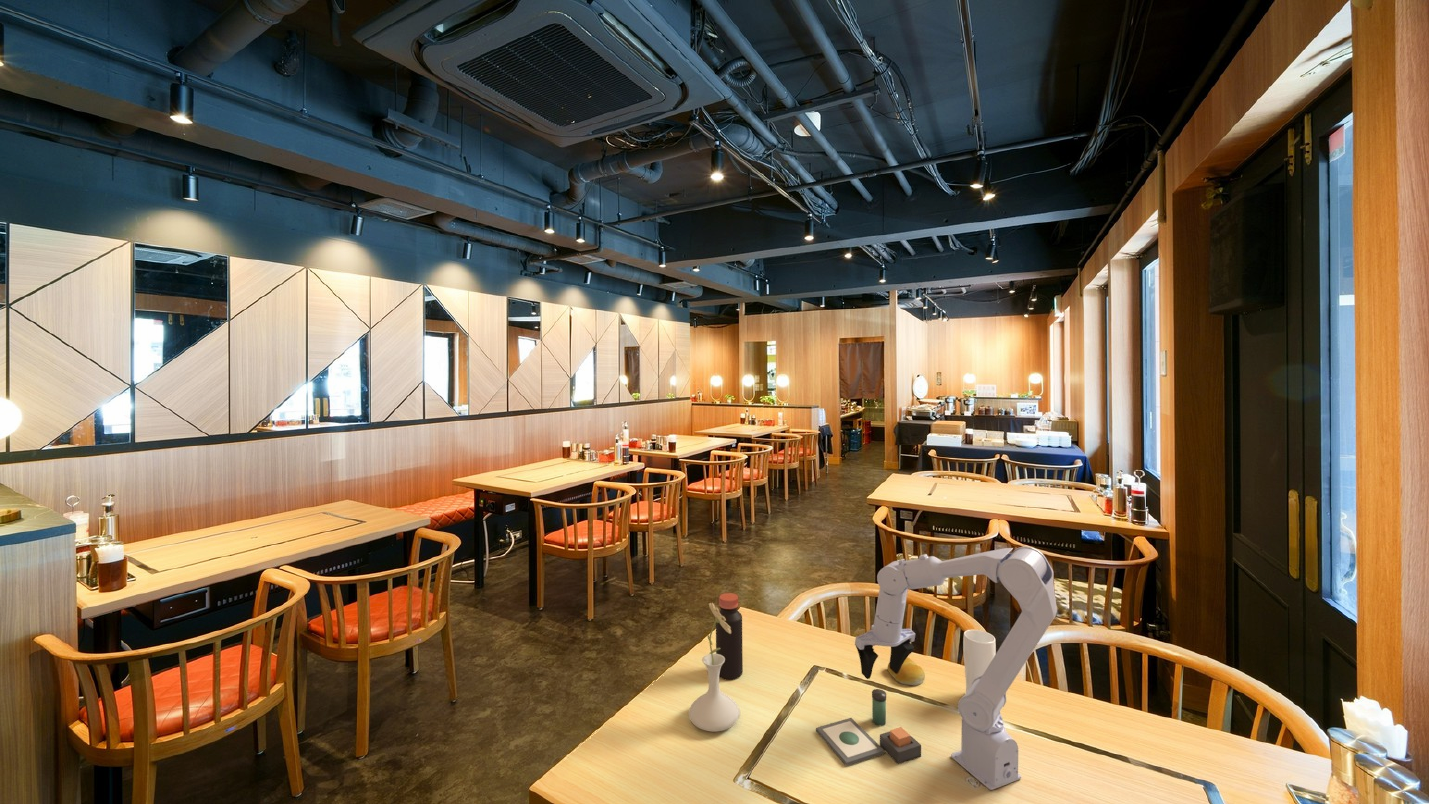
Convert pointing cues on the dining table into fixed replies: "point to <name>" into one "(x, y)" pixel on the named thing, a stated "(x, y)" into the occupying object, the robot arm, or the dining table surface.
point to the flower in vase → (714, 692)
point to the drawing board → (849, 741)
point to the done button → (900, 737)
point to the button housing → (900, 749)
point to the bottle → (730, 637)
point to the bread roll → (909, 673)
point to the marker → (879, 707)
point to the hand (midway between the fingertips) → (879, 673)
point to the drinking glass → (977, 653)
